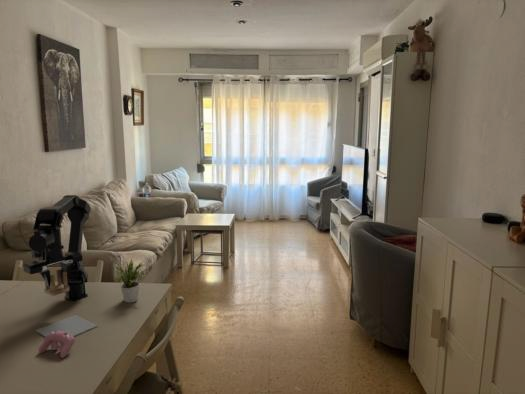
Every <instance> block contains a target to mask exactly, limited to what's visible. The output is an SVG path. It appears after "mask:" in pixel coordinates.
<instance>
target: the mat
mask: <svg viewBox="0 0 525 394" xmlns="http://www.w3.org/2000/svg"><path fill="white" fill-rule="evenodd" d="M95 328H98V325H97V324H95V323H93V322H91V321H89V320H87V319H85V318H83V317H81V316H79V315H78V314H74V315H72V316H69V317H66V318H64V319H61V320H59V321H57V322H56V321H55V322H54V323H51V324H48V325H46V326H44V327H41V328H38V329H36V330H35V332H36V333H38V334H40V335H41V336H42V337H45V338H46V336H47V335H48V334H49V333H50V332H53V331H64V332H67V333H69V334H70V335H72V336H74V338H75V337H77V336H79V335H82V334H83V333H86V332H89V331H91V330H93V329H95ZM59 344H62V342H59Z"/></svg>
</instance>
